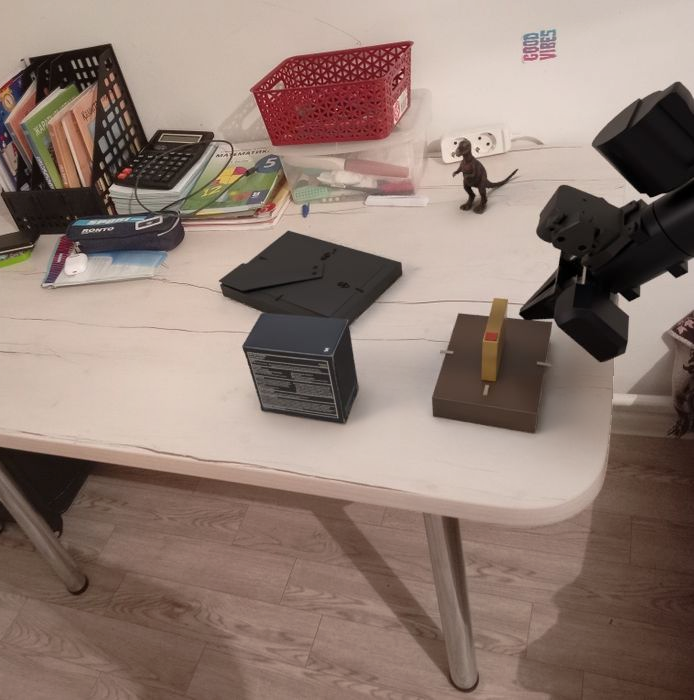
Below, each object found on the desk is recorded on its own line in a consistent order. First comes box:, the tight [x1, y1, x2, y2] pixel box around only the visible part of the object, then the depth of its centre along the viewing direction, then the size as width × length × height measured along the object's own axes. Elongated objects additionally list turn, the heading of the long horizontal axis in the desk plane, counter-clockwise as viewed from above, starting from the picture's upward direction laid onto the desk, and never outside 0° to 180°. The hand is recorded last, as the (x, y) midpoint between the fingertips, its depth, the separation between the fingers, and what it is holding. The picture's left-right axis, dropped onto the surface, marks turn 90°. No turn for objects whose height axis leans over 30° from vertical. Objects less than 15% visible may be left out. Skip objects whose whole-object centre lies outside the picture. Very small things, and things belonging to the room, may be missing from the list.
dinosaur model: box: [452, 139, 520, 214], centre depth 92 cm, size 4×12×15 cm
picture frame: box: [218, 230, 403, 326], centre depth 89 cm, size 16×3×21 cm
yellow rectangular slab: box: [481, 297, 509, 381], centre depth 65 cm, size 7×1×6 cm, turn 153°
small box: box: [241, 312, 360, 425], centre depth 70 cm, size 11×6×10 cm, turn 65°
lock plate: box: [431, 312, 553, 434], centre depth 68 cm, size 14×11×3 cm
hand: (522, 315), depth 64 cm, fingers closed
